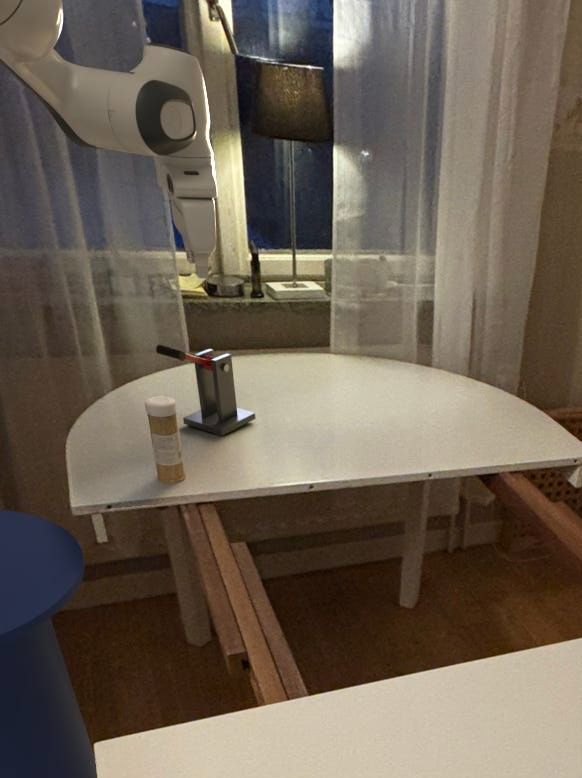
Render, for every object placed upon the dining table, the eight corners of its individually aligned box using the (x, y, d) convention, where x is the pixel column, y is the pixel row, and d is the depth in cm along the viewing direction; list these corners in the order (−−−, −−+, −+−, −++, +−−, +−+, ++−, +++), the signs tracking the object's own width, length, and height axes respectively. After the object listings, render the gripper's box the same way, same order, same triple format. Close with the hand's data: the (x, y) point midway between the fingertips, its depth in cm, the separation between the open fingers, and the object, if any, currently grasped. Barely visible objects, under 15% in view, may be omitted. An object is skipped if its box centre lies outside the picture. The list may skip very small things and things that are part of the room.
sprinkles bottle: (166, 471, 130) (153, 393, 122) (191, 476, 130) (180, 397, 122) (151, 482, 127) (138, 402, 119) (177, 486, 126) (165, 407, 118)
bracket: (222, 435, 143) (213, 367, 135) (183, 423, 145) (173, 356, 138) (255, 418, 150) (249, 353, 142) (218, 407, 153) (210, 342, 145)
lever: (178, 362, 130) (180, 347, 129) (154, 355, 131) (157, 341, 130) (228, 375, 142) (230, 362, 141) (206, 369, 143) (208, 356, 143)
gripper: (156, 163, 126) (169, 254, 135) (174, 186, 112) (188, 286, 121) (195, 164, 129) (206, 254, 137) (219, 187, 115) (229, 285, 123)
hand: (197, 269), depth 129 cm, fingers open, 8 cm apart
